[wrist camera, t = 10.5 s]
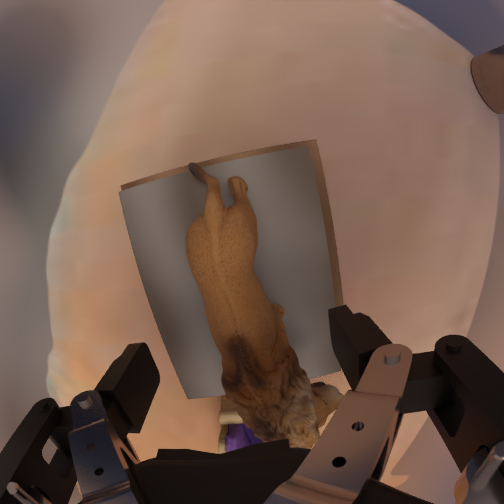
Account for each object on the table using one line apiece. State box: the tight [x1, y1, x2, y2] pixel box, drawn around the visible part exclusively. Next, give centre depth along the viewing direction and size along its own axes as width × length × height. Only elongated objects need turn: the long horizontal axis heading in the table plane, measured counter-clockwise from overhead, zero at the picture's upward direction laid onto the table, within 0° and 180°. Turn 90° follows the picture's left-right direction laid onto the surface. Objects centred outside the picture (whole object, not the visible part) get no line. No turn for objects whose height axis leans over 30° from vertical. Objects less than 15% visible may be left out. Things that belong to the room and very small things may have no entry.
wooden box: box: [119, 140, 343, 399], centre depth 23 cm, size 16×18×10 cm
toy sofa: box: [218, 395, 263, 454], centre depth 28 cm, size 21×9×10 cm, turn 9°
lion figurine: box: [185, 163, 344, 449], centre depth 13 cm, size 15×5×9 cm, turn 25°
